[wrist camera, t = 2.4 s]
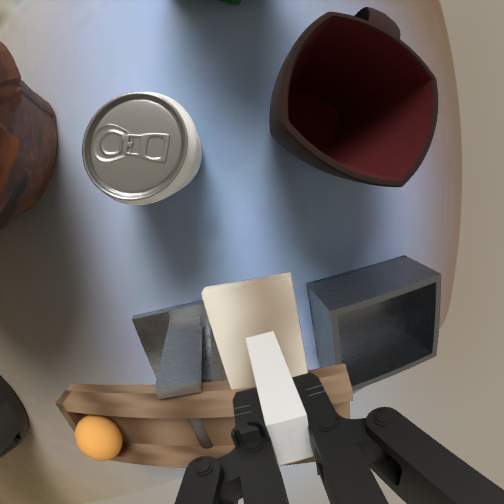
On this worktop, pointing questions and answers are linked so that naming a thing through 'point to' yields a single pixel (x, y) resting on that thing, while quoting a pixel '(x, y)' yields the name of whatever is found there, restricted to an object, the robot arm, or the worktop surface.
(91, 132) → the can
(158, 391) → the stand
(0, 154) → the case
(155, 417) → the lever
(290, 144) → the cup
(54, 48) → the worktop surface
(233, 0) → the milk carton
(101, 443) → the ball
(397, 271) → the tin
